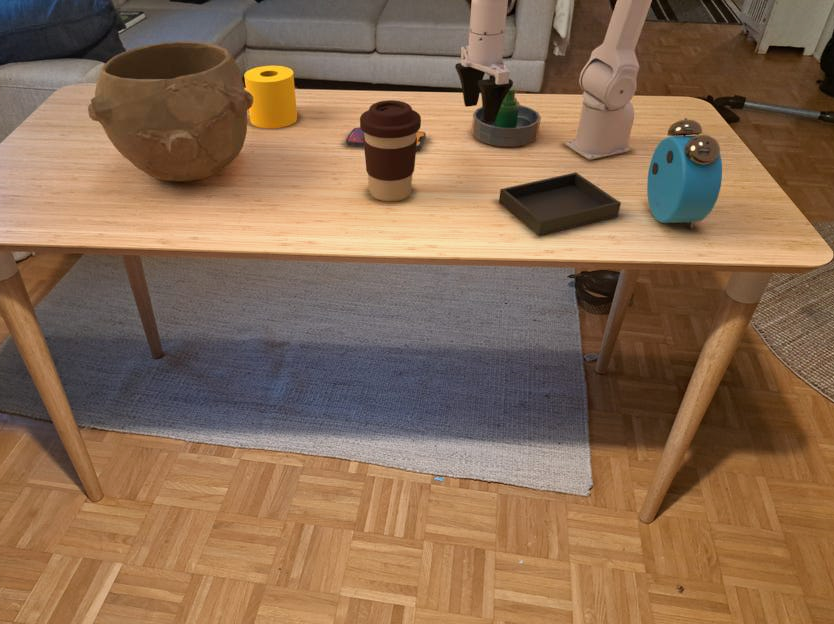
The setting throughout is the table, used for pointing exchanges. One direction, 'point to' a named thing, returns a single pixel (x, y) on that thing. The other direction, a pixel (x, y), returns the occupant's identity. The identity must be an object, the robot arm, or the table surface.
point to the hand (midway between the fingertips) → (479, 113)
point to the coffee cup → (390, 148)
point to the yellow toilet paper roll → (271, 96)
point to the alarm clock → (684, 175)
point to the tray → (558, 203)
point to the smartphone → (358, 136)
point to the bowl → (173, 108)
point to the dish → (507, 129)
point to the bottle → (508, 111)
